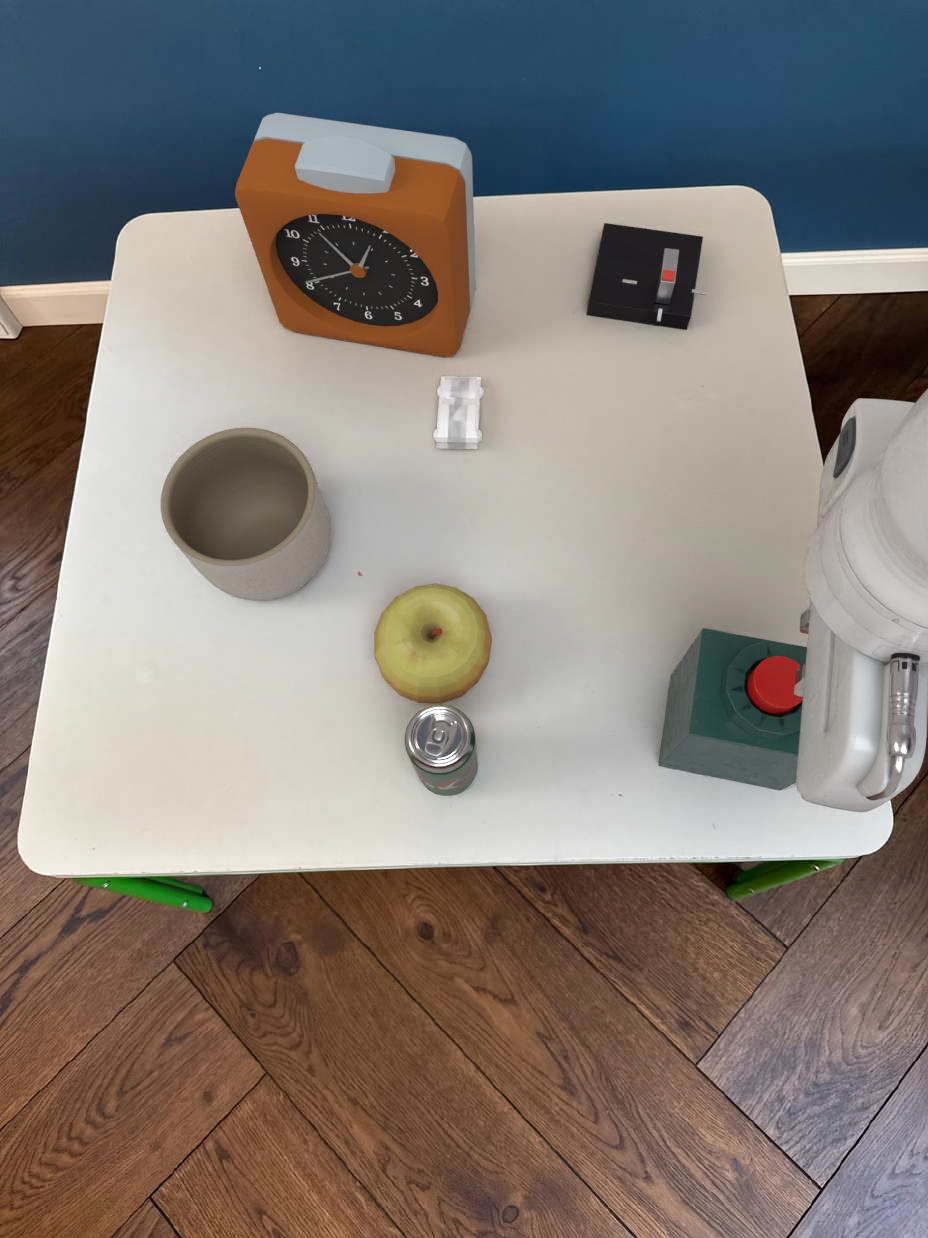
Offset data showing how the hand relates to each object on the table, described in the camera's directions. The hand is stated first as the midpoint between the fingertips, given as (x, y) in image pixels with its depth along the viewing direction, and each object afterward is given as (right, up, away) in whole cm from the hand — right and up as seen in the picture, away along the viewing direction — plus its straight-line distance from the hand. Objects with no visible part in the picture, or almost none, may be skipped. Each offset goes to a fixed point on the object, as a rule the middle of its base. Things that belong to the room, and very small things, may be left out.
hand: (810, 654), depth 53 cm
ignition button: (0, -3, +7) cm, 7 cm away
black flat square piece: (-3, +36, +36) cm, 51 cm away
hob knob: (-1, +35, +33) cm, 48 cm away
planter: (-39, +8, +27) cm, 48 cm away
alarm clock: (-30, +33, +36) cm, 57 cm away
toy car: (-21, +21, +31) cm, 43 cm away
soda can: (-22, -10, +20) cm, 32 cm away
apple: (-23, -1, +23) cm, 33 cm away
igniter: (+1, -7, +20) cm, 21 cm away
